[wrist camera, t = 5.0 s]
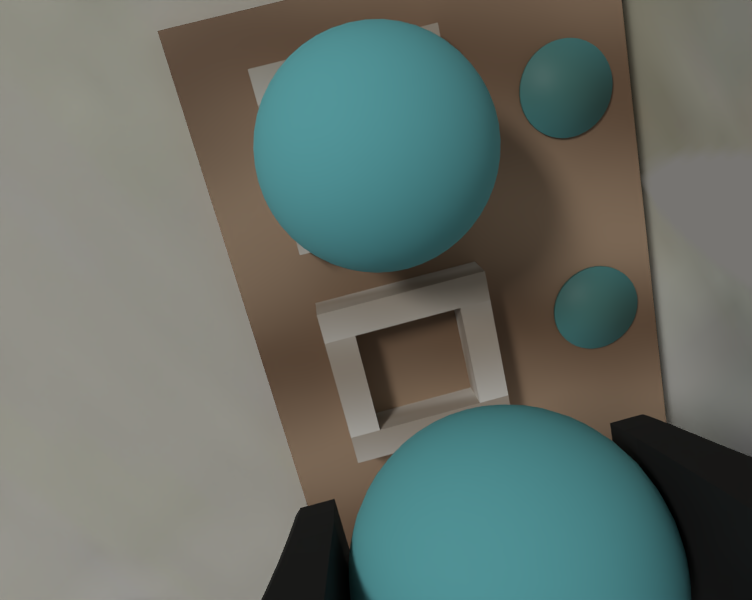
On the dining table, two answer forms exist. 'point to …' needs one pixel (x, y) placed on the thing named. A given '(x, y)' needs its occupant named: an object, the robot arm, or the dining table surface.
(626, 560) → the teal ball
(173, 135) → the dining table surface
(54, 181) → the dining table surface
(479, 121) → the teal ball
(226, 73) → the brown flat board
